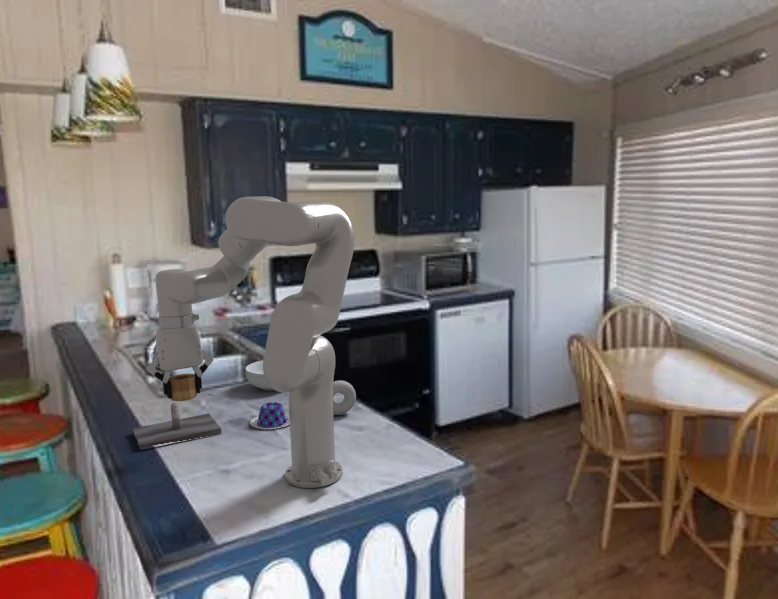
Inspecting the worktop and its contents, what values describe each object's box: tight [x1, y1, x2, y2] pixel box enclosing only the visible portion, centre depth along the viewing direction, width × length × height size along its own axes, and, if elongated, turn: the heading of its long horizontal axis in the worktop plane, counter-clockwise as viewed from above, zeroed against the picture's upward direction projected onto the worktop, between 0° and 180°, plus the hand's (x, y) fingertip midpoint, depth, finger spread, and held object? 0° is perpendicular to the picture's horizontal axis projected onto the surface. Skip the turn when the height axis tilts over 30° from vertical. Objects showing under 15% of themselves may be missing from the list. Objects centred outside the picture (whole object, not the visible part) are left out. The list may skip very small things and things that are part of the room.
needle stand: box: [132, 402, 223, 447], centre depth 160 cm, size 13×20×8 cm, turn 120°
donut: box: [333, 380, 357, 416], centre depth 171 cm, size 10×4×10 cm, turn 111°
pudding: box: [249, 401, 290, 430], centre depth 167 cm, size 12×12×5 cm
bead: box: [169, 373, 198, 402], centre depth 148 cm, size 6×6×5 cm
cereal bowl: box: [245, 360, 275, 391], centre depth 198 cm, size 17×17×7 cm
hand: (183, 393), depth 148 cm, fingers closed on bead, 6 cm apart
